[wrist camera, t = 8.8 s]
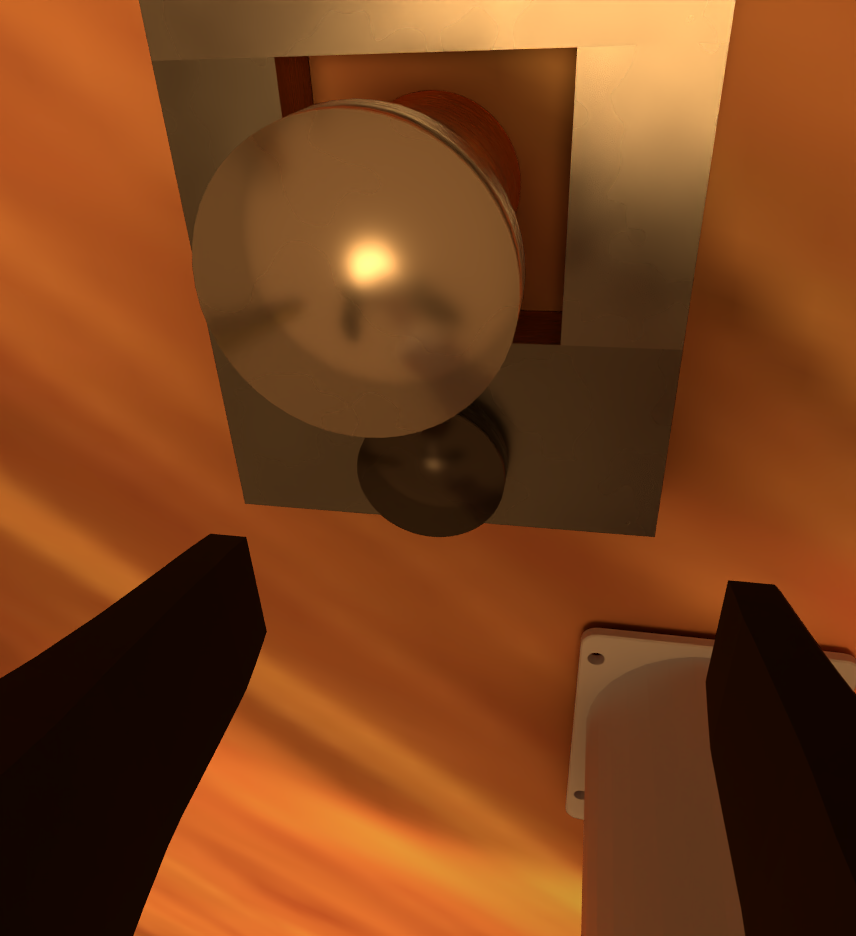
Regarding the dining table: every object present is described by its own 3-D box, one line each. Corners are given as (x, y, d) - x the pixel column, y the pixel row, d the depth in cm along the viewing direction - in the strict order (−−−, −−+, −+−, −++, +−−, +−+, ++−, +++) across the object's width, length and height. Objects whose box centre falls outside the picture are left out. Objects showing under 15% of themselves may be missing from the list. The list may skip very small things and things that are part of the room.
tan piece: (650, 492, 21) (656, 562, 18) (270, 464, 23) (230, 525, 20) (767, -334, 12) (808, -411, 10) (138, -260, 14) (40, -309, 12)
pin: (541, 299, 18) (514, 448, 13) (336, 291, 19) (223, 427, 14) (554, 56, 16) (527, 107, 10) (313, 60, 17) (159, 109, 11)
